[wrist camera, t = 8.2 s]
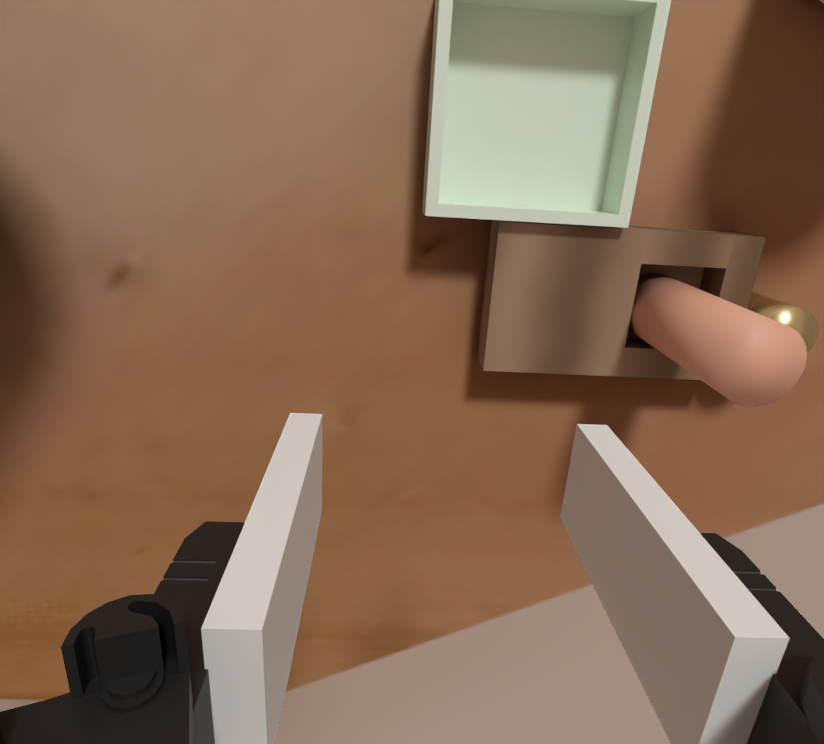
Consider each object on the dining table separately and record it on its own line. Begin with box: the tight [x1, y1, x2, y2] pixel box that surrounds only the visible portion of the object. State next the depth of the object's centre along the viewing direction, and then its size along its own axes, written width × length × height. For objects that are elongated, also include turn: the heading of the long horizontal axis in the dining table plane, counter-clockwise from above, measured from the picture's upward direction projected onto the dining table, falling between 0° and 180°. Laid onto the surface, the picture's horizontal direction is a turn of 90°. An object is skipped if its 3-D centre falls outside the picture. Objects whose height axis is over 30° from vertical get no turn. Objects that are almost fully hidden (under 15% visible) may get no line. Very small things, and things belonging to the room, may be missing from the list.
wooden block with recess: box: [477, 220, 766, 380], centre depth 31 cm, size 14×8×3 cm, turn 87°
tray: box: [422, 0, 671, 228], centre depth 27 cm, size 10×10×3 cm
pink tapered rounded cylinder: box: [628, 273, 807, 407], centre depth 27 cm, size 4×4×10 cm
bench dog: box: [747, 292, 818, 352], centre depth 31 cm, size 3×3×4 cm
